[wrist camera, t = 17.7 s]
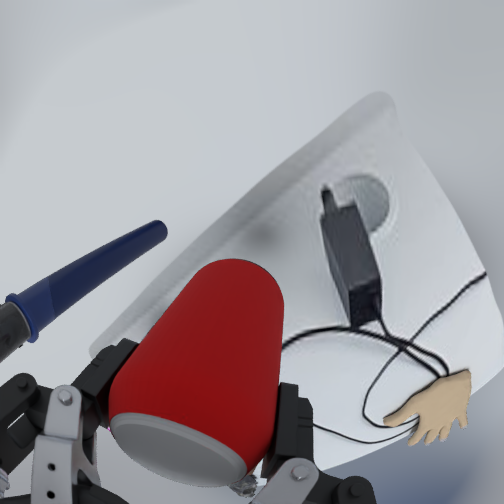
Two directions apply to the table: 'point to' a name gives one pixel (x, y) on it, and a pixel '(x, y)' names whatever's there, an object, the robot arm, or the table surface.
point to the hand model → (436, 408)
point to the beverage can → (205, 379)
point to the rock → (244, 486)
